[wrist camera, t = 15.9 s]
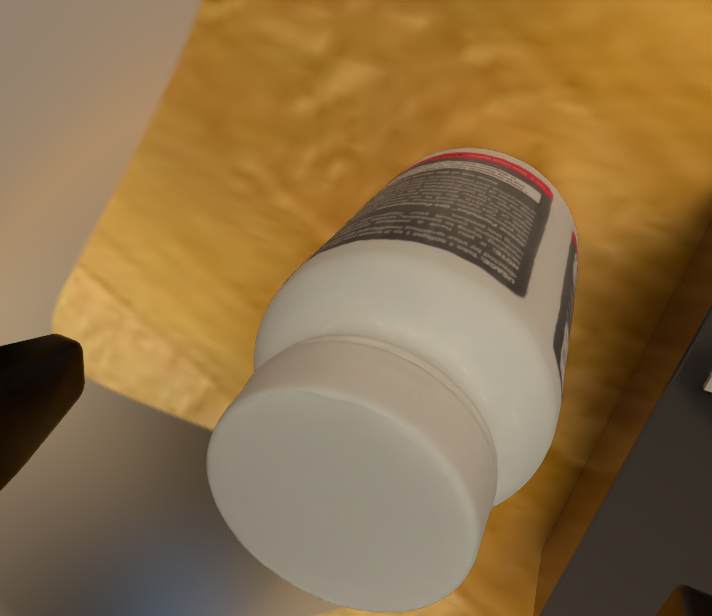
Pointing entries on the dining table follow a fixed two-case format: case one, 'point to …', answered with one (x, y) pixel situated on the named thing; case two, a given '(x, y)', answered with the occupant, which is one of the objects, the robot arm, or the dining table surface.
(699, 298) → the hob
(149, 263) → the dining table surface
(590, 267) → the dining table surface
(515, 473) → the pill bottle
